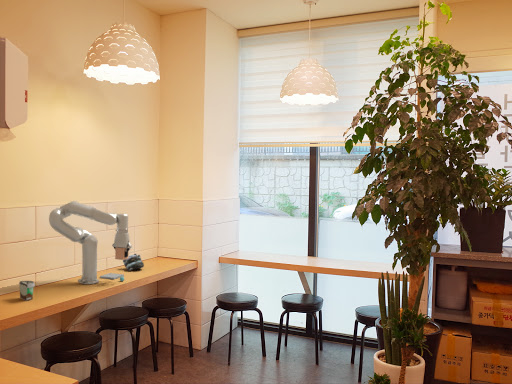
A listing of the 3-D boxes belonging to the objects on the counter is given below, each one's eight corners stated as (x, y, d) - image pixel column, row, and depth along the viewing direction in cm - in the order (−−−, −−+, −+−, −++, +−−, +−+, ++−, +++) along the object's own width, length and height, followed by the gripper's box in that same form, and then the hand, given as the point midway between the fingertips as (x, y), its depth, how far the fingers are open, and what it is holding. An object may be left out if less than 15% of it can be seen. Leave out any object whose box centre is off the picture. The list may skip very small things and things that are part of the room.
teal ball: (122, 281, 327) (122, 277, 327) (118, 281, 328) (118, 276, 328) (125, 280, 330) (125, 276, 330) (121, 280, 331) (121, 276, 331)
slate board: (114, 279, 333) (114, 277, 333) (99, 277, 337) (99, 276, 337) (123, 276, 345) (123, 274, 345) (110, 274, 349) (110, 273, 348)
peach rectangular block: (123, 259, 324) (123, 248, 324) (115, 259, 326) (115, 247, 326) (128, 258, 330) (128, 247, 330) (120, 257, 333) (120, 246, 332)
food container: (38, 299, 278) (38, 283, 277) (27, 301, 273) (27, 284, 273) (29, 295, 286) (29, 279, 286) (19, 297, 281) (19, 281, 281)
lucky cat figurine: (124, 271, 359) (120, 254, 363) (127, 274, 370) (122, 258, 374) (143, 265, 362) (139, 249, 366) (145, 269, 373) (141, 252, 377)
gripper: (108, 231, 327) (108, 256, 328) (129, 232, 321) (129, 258, 322) (115, 229, 334) (114, 254, 335) (136, 231, 328) (135, 256, 329)
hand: (121, 256), depth 328 cm, fingers closed on peach rectangular block, 6 cm apart
